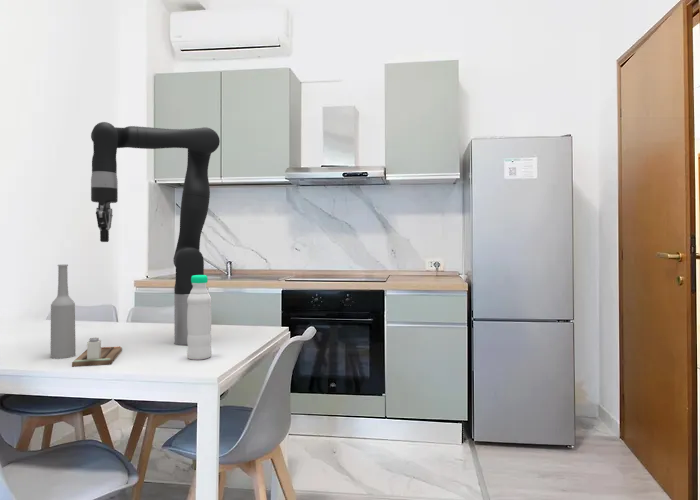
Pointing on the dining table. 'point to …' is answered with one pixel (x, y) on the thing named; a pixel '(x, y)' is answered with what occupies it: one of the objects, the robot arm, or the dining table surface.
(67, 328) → the bottle
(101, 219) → the robot arm
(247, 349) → the dining table surface
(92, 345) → the slider knob
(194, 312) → the water bottle
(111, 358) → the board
